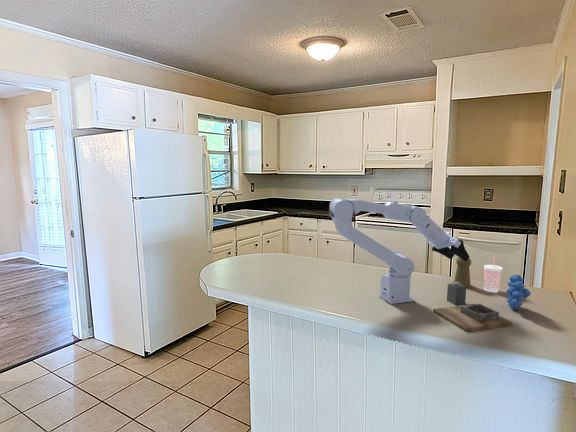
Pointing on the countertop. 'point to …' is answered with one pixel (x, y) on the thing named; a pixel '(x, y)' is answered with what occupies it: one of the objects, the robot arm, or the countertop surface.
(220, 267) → the countertop surface
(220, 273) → the countertop surface
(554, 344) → the countertop surface
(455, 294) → the plug
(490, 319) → the charging dock
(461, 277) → the cork
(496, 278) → the beverage cup
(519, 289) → the grapes
